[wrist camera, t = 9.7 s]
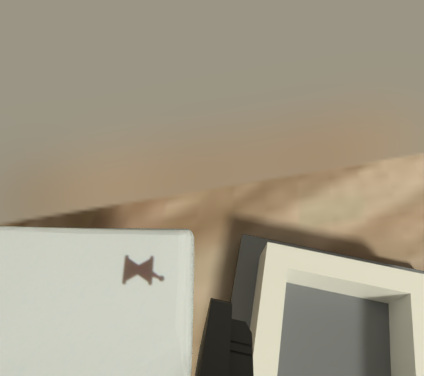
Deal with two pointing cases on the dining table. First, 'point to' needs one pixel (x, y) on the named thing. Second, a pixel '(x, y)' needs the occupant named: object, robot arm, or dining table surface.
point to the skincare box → (96, 301)
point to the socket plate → (328, 312)
